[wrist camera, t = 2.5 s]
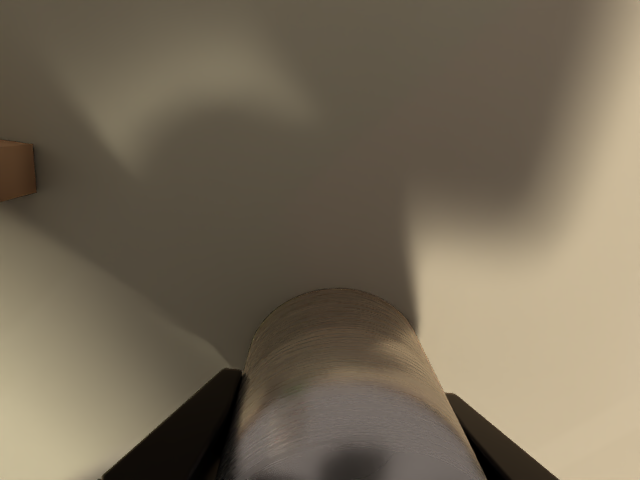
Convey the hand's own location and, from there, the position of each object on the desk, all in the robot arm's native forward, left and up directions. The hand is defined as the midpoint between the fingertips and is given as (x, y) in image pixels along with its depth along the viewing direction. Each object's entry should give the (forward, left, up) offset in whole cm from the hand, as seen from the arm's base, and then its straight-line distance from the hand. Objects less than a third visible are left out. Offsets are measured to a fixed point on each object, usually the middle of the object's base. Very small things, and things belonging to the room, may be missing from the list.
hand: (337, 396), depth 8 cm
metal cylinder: (0, 0, -1) cm, 1 cm away
